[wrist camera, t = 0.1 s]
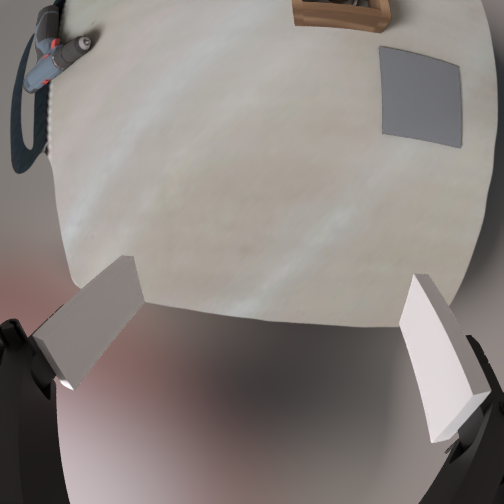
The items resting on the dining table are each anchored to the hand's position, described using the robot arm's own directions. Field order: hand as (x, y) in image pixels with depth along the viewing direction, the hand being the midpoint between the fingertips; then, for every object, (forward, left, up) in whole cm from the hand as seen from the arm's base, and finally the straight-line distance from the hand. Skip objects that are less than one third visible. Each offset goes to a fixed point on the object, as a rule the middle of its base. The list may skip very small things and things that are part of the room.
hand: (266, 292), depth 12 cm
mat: (-14, +19, -28) cm, 36 cm away
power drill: (-34, -43, -29) cm, 62 cm away
